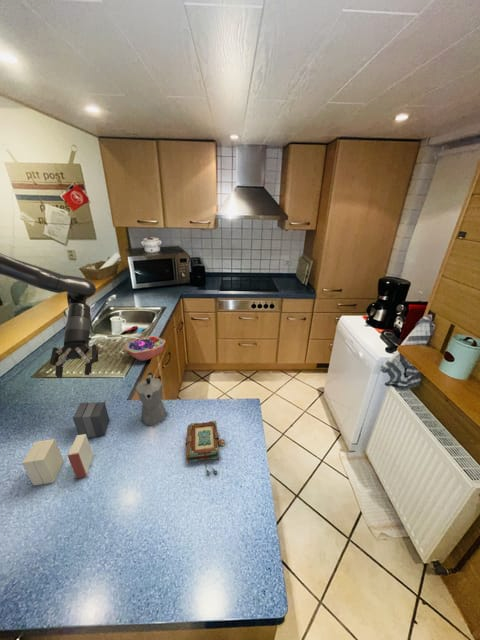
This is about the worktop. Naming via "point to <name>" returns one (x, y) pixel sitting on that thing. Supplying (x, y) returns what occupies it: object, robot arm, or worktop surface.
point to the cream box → (43, 462)
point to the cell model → (145, 347)
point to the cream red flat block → (80, 456)
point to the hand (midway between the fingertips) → (73, 376)
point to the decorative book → (202, 442)
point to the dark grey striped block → (91, 419)
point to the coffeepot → (151, 400)
